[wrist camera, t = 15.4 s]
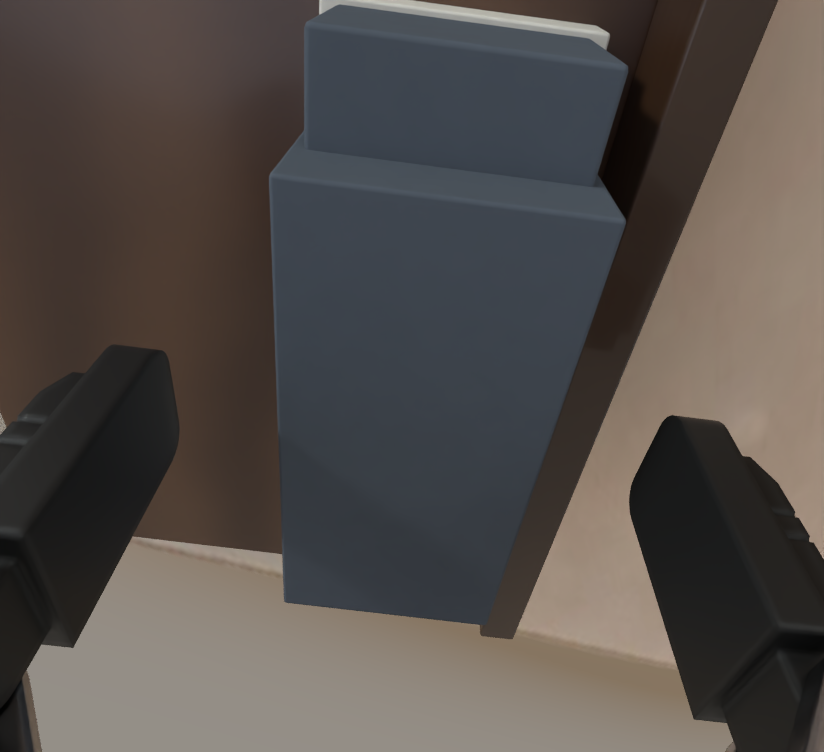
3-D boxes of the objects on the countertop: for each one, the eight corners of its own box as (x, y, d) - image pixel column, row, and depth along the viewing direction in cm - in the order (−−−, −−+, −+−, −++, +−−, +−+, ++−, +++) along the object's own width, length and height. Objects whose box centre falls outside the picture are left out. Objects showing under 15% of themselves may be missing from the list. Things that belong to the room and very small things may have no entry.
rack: (117, 424, 23) (7, 582, 17) (-87, -384, 11) (-670, -735, 5) (498, 470, 23) (512, 640, 17) (711, -261, 11) (974, -466, 6)
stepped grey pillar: (479, 479, 16) (487, 631, 13) (319, 460, 16) (280, 608, 13) (598, 25, 10) (684, 75, 6) (330, -12, 10) (257, 17, 6)
